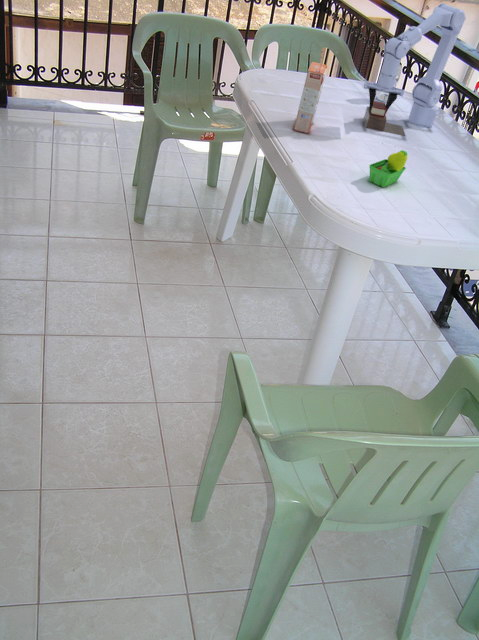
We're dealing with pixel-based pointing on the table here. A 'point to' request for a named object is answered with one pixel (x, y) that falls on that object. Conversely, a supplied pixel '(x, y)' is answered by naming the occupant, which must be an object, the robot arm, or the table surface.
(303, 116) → the cracker box
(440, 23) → the robot arm
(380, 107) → the red hardcover book
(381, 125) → the book rack
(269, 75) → the table surface
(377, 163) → the fruit basket
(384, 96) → the beer glass
